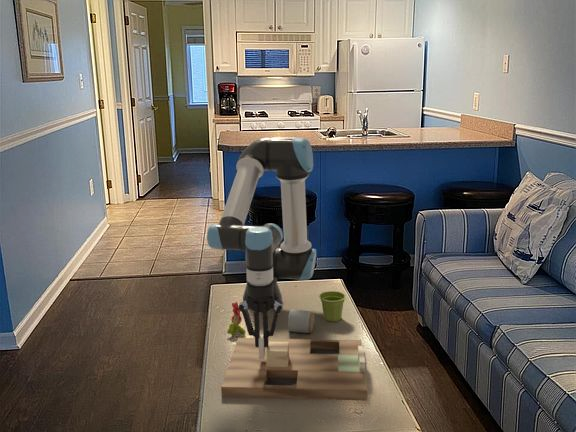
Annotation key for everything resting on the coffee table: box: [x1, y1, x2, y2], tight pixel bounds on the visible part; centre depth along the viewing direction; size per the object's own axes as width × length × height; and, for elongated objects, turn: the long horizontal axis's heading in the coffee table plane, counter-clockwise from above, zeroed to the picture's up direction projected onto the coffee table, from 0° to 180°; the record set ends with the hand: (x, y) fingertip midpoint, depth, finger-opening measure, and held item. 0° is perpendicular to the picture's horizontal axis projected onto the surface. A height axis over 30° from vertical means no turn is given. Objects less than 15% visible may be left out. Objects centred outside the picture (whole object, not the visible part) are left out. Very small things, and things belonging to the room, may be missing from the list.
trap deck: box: [220, 337, 368, 401], centre depth 164 cm, size 29×40×6 cm
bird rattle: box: [226, 301, 246, 336], centre depth 190 cm, size 6×11×9 cm
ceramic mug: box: [287, 308, 315, 334], centre depth 191 cm, size 11×8×8 cm
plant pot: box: [318, 290, 347, 322], centre depth 199 cm, size 9×9×9 cm
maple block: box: [266, 341, 289, 367], centre depth 164 cm, size 6×6×5 cm
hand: (262, 356), depth 164 cm, fingers closed
